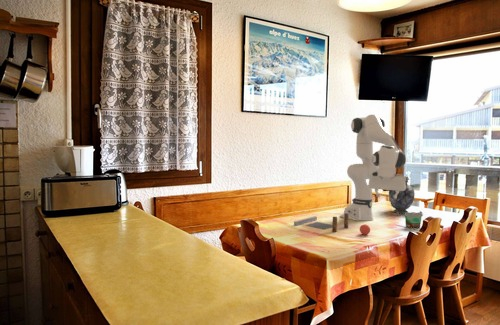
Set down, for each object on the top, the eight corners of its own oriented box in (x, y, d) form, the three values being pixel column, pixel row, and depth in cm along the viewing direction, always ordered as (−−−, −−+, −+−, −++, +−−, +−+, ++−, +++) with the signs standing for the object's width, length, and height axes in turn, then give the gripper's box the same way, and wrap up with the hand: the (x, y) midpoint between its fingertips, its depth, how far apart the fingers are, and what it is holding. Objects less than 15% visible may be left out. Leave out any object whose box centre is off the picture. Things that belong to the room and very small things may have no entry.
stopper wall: (293, 225, 241) (294, 221, 241) (314, 219, 259) (314, 216, 259) (296, 225, 240) (296, 222, 239) (316, 220, 257) (316, 216, 257)
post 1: (331, 231, 227) (331, 216, 226) (333, 230, 229) (334, 216, 228) (335, 232, 225) (335, 217, 224) (337, 231, 227) (337, 217, 226)
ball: (357, 234, 221) (358, 224, 221) (362, 232, 226) (362, 222, 225) (367, 236, 217) (367, 226, 217) (371, 234, 222) (372, 224, 221)
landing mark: (305, 225, 241) (305, 225, 241) (317, 222, 251) (317, 221, 251) (324, 229, 232) (324, 229, 232) (335, 225, 242) (335, 225, 242)
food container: (410, 229, 237) (410, 213, 236) (403, 227, 243) (404, 211, 242) (426, 228, 240) (427, 213, 240) (419, 226, 246) (420, 211, 246)
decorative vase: (392, 208, 307) (395, 174, 304) (416, 212, 295) (419, 176, 293) (383, 212, 290) (385, 176, 288) (408, 216, 279) (410, 178, 276)
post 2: (343, 227, 237) (343, 213, 237) (345, 227, 239) (345, 213, 239) (346, 228, 236) (347, 214, 235) (348, 227, 238) (349, 213, 237)
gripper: (407, 174, 211) (406, 198, 212) (371, 172, 223) (370, 195, 224) (404, 174, 206) (404, 199, 207) (367, 172, 218) (367, 196, 219)
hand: (386, 197), depth 215 cm, fingers open, 8 cm apart
